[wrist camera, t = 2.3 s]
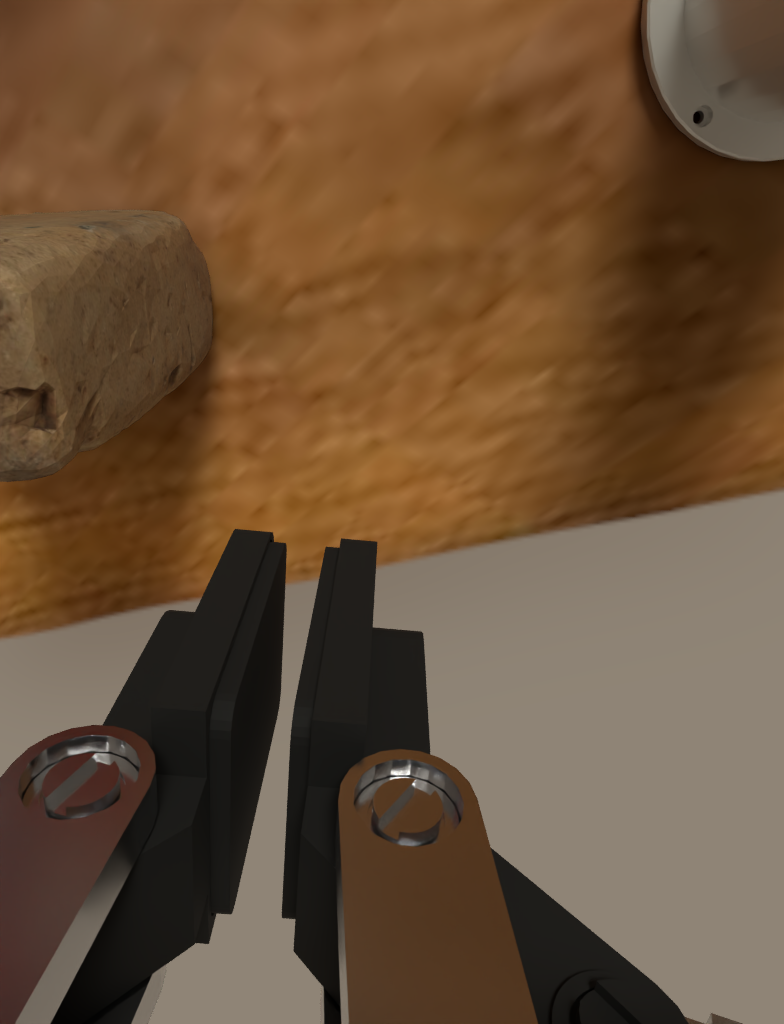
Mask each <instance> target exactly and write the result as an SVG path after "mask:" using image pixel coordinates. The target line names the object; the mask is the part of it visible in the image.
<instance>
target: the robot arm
mask: <svg viewBox="0 0 784 1024" xmlns="http://www.w3.org/2000/svg"><path fill="white" fill-rule="evenodd" d="M641 36H642V48H643V58H644V61H645V65H646V69H647V73H648V77H649V80H650V84H651V86H652V89H653V91H654V93H655V95H656V97H657V99H658V101H659V103H660V105H661V107H662V109H663V110H664V112H665V113H666V114H667V116H668V117H669V118H670V119H671V121H672V122H673V123H674V125H675V126H676V127H677V128H678V130H680V131H681V132H682V133H683V134H685V135H686V136H687V137H688V138H689V139H691V140H692V141H693V142H694V143H696V144H697V145H698V146H700V147H703V148H705V149H707V150H709V151H711V152H713V153H715V154H717V155H719V156H723V157H727V158H732V159H736V160H741V161H774V160H782V159H784V0H643V3H642V16H641ZM695 112H699V114H700V120H699V122H698V123H697V124H695V123H694V122H693V114H694V113H695ZM286 552H287V548H286V543H278V542H274V536H273V532H262V531H251V530H240V529H235V530H234V531H233V533H232V535H231V537H230V540H229V542H228V544H227V546H226V548H225V550H224V552H223V554H222V556H221V559H220V561H219V563H218V565H217V567H216V569H215V571H214V573H213V575H212V578H211V580H210V582H209V584H208V586H207V588H206V590H205V592H204V594H203V597H202V599H201V601H200V603H199V605H198V607H197V609H196V611H195V612H186V611H174V610H169V611H166V612H165V613H164V615H163V616H162V617H161V619H160V621H159V623H158V625H157V627H156V628H155V630H154V632H153V634H152V636H151V637H150V640H149V641H148V643H147V645H146V647H145V649H144V651H143V652H142V654H141V656H140V658H139V659H138V661H137V663H136V665H135V667H134V669H133V671H132V672H131V674H130V676H129V678H128V680H127V682H126V683H125V685H124V687H123V689H122V691H121V693H120V694H119V696H118V698H117V700H116V702H115V703H114V705H113V707H112V709H111V711H110V713H109V714H108V716H107V718H106V720H105V722H104V724H103V725H91V726H84V727H78V728H71V729H68V730H65V731H62V732H60V733H57V734H54V735H51V736H48V737H47V738H45V739H43V740H42V741H40V742H38V743H36V744H35V745H33V746H31V747H30V748H28V749H27V750H26V751H25V752H24V753H23V754H22V755H21V756H20V757H18V758H17V759H16V760H15V761H14V762H13V763H12V764H11V765H10V767H9V768H8V769H7V770H6V771H5V773H4V774H3V775H2V776H1V777H0V1024H148V1022H149V1019H150V1017H151V1014H152V1012H153V1010H154V1007H155V1005H156V1003H157V1000H158V997H159V995H160V993H161V990H162V986H163V982H164V978H165V974H166V964H167V963H169V962H170V961H172V960H173V959H174V958H176V957H177V956H179V955H180V954H181V953H183V952H184V951H186V950H187V949H188V948H190V947H191V946H193V945H194V944H195V943H204V944H209V941H210V937H211V933H212V928H213V925H214V920H215V917H216V913H219V914H220V913H221V914H232V912H233V909H234V905H235V901H236V897H237V892H238V887H239V883H240V879H241V875H242V870H243V866H244V861H245V857H246V853H247V848H248V844H249V839H250V835H251V830H252V826H253V821H254V817H255V813H256V808H257V804H258V799H259V794H260V790H261V786H262V782H263V777H264V773H265V768H266V764H267V760H268V755H269V751H270V746H271V742H272V737H273V733H274V728H275V724H276V720H277V715H278V710H279V704H280V694H281V674H282V673H281V672H282V651H283V627H284V626H283V625H284V601H285V578H286ZM376 556H377V542H373V541H362V540H351V539H341V542H340V548H334V547H326V548H325V553H324V558H323V563H322V568H321V573H320V579H319V584H318V589H317V594H316V599H315V604H314V609H313V614H312V619H311V625H310V629H309V634H308V639H307V644H306V649H305V654H304V660H303V664H302V670H301V674H300V680H299V685H298V690H297V695H296V700H295V706H294V713H293V720H292V729H291V741H290V760H289V780H288V800H287V821H286V841H285V861H284V881H283V902H282V918H289V919H296V921H295V937H294V952H295V953H296V955H297V956H298V957H299V958H300V959H301V961H302V962H303V963H304V964H305V965H306V967H307V968H308V969H309V970H310V971H311V973H312V974H313V975H314V976H315V977H316V979H317V980H318V981H319V982H320V983H321V985H322V988H321V999H320V1005H321V1006H320V1007H321V1008H320V1009H321V1024H704V1023H701V1022H698V1021H695V1020H692V1019H689V1018H686V1017H684V1016H683V1014H682V1012H681V1011H680V1009H679V1008H678V1006H677V1005H676V1004H675V1003H674V1002H673V1001H672V1000H671V999H670V998H669V997H668V996H667V995H666V994H665V993H664V992H663V991H662V990H661V989H660V988H659V987H658V986H657V985H656V984H655V983H654V982H653V981H652V980H650V979H649V978H648V977H647V976H645V975H644V974H643V973H642V972H640V970H638V969H637V968H636V967H635V966H633V965H632V964H631V963H630V962H629V961H627V960H626V959H625V958H624V957H622V956H621V955H620V954H619V953H618V952H616V951H615V950H614V949H613V948H612V947H610V946H609V945H608V944H607V943H606V942H604V941H603V940H602V939H601V938H599V937H598V936H597V935H596V934H595V933H593V932H592V931H591V930H590V929H589V928H587V927H586V926H585V925H584V924H582V923H581V922H580V921H579V920H578V919H577V918H575V917H574V916H573V915H572V914H570V913H569V912H568V911H567V910H566V909H564V908H563V907H562V906H561V905H560V904H558V903H557V902H556V901H555V900H553V899H552V898H551V897H550V896H549V895H547V894H546V893H545V892H544V891H543V890H541V889H540V888H539V887H538V886H537V885H535V884H534V883H533V882H532V881H530V880H529V879H528V878H527V877H526V876H524V875H523V874H522V873H521V872H519V871H518V870H517V869H516V868H515V867H514V866H512V865H511V864H510V863H509V862H507V861H506V860H505V859H504V858H502V857H501V856H500V855H499V854H498V853H497V852H495V851H494V850H493V849H492V848H491V847H490V844H489V840H488V837H487V833H486V829H485V826H484V822H483V819H482V815H481V811H480V807H479V804H478V800H477V797H476V795H475V793H474V791H473V789H472V787H471V785H470V783H469V782H468V780H467V779H466V778H465V777H464V776H463V775H462V774H461V773H460V772H459V771H458V770H457V769H456V768H455V767H453V766H451V765H450V764H449V763H447V762H445V761H444V760H442V759H441V758H438V757H436V756H433V755H430V741H429V723H428V707H427V689H426V671H425V654H424V639H423V633H422V632H418V631H407V630H396V629H384V628H373V609H374V590H375V574H376ZM706 1024H742V1023H739V1022H736V1021H733V1020H730V1019H727V1018H724V1017H721V1016H718V1015H715V1014H712V1013H711V1014H710V1017H709V1019H708V1021H707V1023H706Z"/></svg>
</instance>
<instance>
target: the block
mask: <svg viewBox="0 0 784 1024" xmlns="http://www.w3.org/2000/svg"><path fill="white" fill-rule="evenodd" d="M212 324H213V314H212V300H211V284H210V277H209V272H208V268H207V264H206V261H205V259H204V256H203V254H202V252H201V251H200V249H199V248H198V247H197V245H196V244H195V243H194V242H193V240H192V238H191V235H190V233H189V231H188V229H187V227H186V225H185V223H184V222H183V221H181V220H180V219H179V218H178V217H176V216H173V215H170V214H167V213H165V212H161V211H149V210H95V211H71V212H54V213H33V214H17V215H1V216H0V481H3V482H11V481H22V480H32V479H37V478H41V477H45V476H48V475H52V474H54V473H55V472H57V471H59V470H60V469H62V468H63V467H64V466H65V465H66V464H67V463H68V462H70V461H71V460H72V459H73V458H74V457H75V456H76V454H77V453H78V452H82V451H88V450H94V449H95V448H97V447H98V446H100V445H102V444H103V443H105V442H106V441H108V440H109V439H110V438H112V437H114V436H116V435H118V434H119V433H120V432H121V431H122V430H123V429H126V428H128V427H129V426H130V425H131V424H133V423H134V422H135V421H137V420H139V419H140V418H141V417H142V416H143V415H144V414H145V413H146V412H148V411H149V410H150V409H152V408H153V407H154V406H155V405H156V404H157V403H158V402H159V401H160V400H161V399H162V398H163V397H164V396H166V395H167V394H169V393H170V392H172V391H173V390H175V389H176V388H177V387H178V386H179V385H180V384H181V383H182V382H183V381H184V380H185V379H186V378H187V377H188V376H189V375H190V374H191V373H192V372H193V371H194V370H195V369H196V368H197V367H198V366H199V365H200V363H201V362H202V361H203V360H204V358H205V357H206V355H207V353H208V351H209V350H210V347H211V344H212Z"/></svg>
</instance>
